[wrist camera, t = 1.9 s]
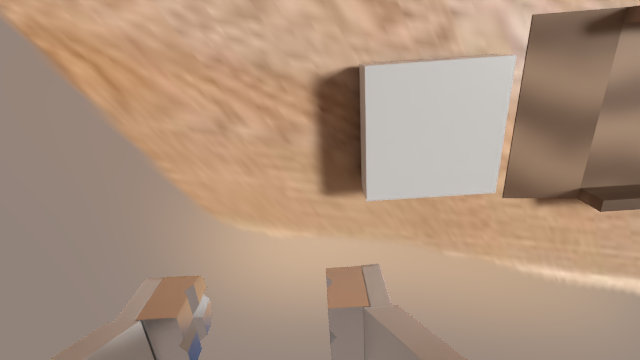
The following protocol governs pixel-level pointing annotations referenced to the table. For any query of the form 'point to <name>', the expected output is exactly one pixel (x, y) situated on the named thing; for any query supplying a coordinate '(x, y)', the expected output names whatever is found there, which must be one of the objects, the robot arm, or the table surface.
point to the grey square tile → (433, 125)
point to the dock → (580, 110)
